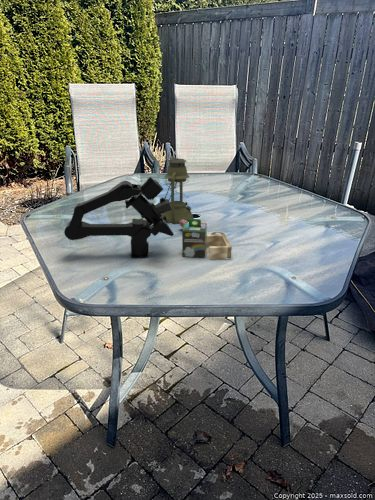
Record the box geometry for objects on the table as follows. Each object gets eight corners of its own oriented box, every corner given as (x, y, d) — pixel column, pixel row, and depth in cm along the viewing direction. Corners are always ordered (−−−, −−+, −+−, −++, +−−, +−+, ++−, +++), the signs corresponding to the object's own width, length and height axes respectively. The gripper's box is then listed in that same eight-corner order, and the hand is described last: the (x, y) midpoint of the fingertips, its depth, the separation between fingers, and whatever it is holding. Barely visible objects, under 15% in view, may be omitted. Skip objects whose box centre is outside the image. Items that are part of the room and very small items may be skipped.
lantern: (189, 226, 182) (190, 163, 170) (154, 223, 185) (152, 161, 173) (196, 213, 200) (198, 156, 188) (164, 211, 203) (164, 154, 191)
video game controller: (182, 231, 179) (175, 220, 176) (190, 226, 180) (184, 214, 176) (189, 239, 171) (183, 226, 167) (198, 233, 171) (191, 221, 168)
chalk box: (206, 249, 156) (207, 215, 151) (205, 258, 148) (206, 222, 142) (184, 248, 157) (184, 214, 151) (181, 257, 149) (181, 221, 143)
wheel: (212, 242, 164) (212, 236, 162) (209, 237, 169) (210, 231, 168) (225, 241, 164) (226, 235, 163) (223, 236, 170) (223, 231, 168)
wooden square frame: (209, 259, 147) (209, 247, 145) (204, 245, 159) (204, 234, 157) (230, 259, 147) (231, 247, 146) (224, 245, 160) (224, 234, 158)
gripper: (160, 200, 133) (190, 229, 138) (158, 187, 150) (185, 214, 156) (138, 221, 135) (168, 249, 141) (139, 206, 152) (166, 232, 158)
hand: (172, 235), depth 149 cm, fingers closed
